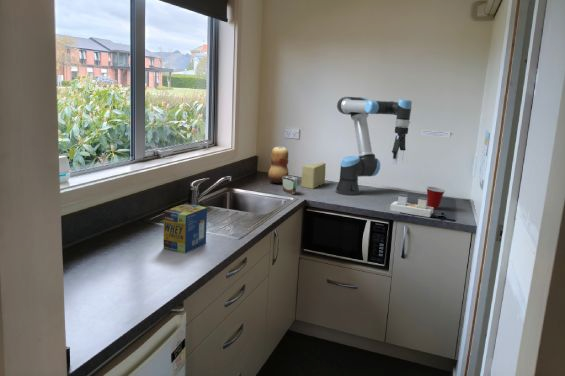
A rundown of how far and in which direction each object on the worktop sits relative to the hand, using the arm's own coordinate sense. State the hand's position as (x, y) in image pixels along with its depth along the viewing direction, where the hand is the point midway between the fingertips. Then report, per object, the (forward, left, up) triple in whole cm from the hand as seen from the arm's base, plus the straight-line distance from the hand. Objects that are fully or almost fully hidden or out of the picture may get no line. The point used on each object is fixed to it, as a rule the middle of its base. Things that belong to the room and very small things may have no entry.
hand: (397, 162), depth 278 cm
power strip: (+18, -14, -25) cm, 34 cm away
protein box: (-51, -133, -25) cm, 144 cm away
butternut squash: (-80, +2, -25) cm, 84 cm away
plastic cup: (+23, +4, -25) cm, 34 cm away
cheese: (-57, +14, -25) cm, 64 cm away
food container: (-60, -18, -25) cm, 67 cm away
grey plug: (+9, -14, -25) cm, 30 cm away
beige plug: (+20, -14, -25) cm, 35 cm away
